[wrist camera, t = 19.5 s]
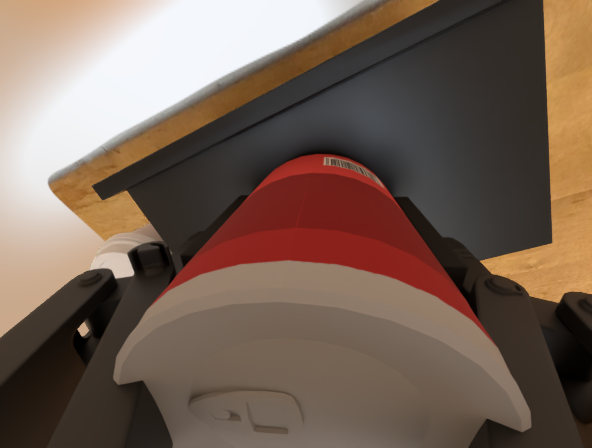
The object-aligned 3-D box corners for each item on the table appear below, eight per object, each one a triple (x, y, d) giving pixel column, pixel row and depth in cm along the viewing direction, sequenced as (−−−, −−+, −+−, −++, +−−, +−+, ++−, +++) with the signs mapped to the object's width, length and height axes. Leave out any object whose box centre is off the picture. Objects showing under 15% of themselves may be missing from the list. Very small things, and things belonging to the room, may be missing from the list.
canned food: (234, 176, 14) (22, 335, 4) (373, 127, 12) (554, 215, 2) (282, 279, 17) (218, 515, 7) (401, 253, 15) (537, 532, 5)
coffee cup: (159, 206, 36) (60, 265, 23) (209, 178, 33) (127, 227, 20) (198, 256, 40) (131, 333, 26) (246, 234, 37) (198, 309, 23)
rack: (441, 173, 29) (583, 262, 13) (266, 234, 36) (212, 343, 20) (414, 45, 24) (589, -81, 8) (217, 143, 31) (90, 186, 15)
